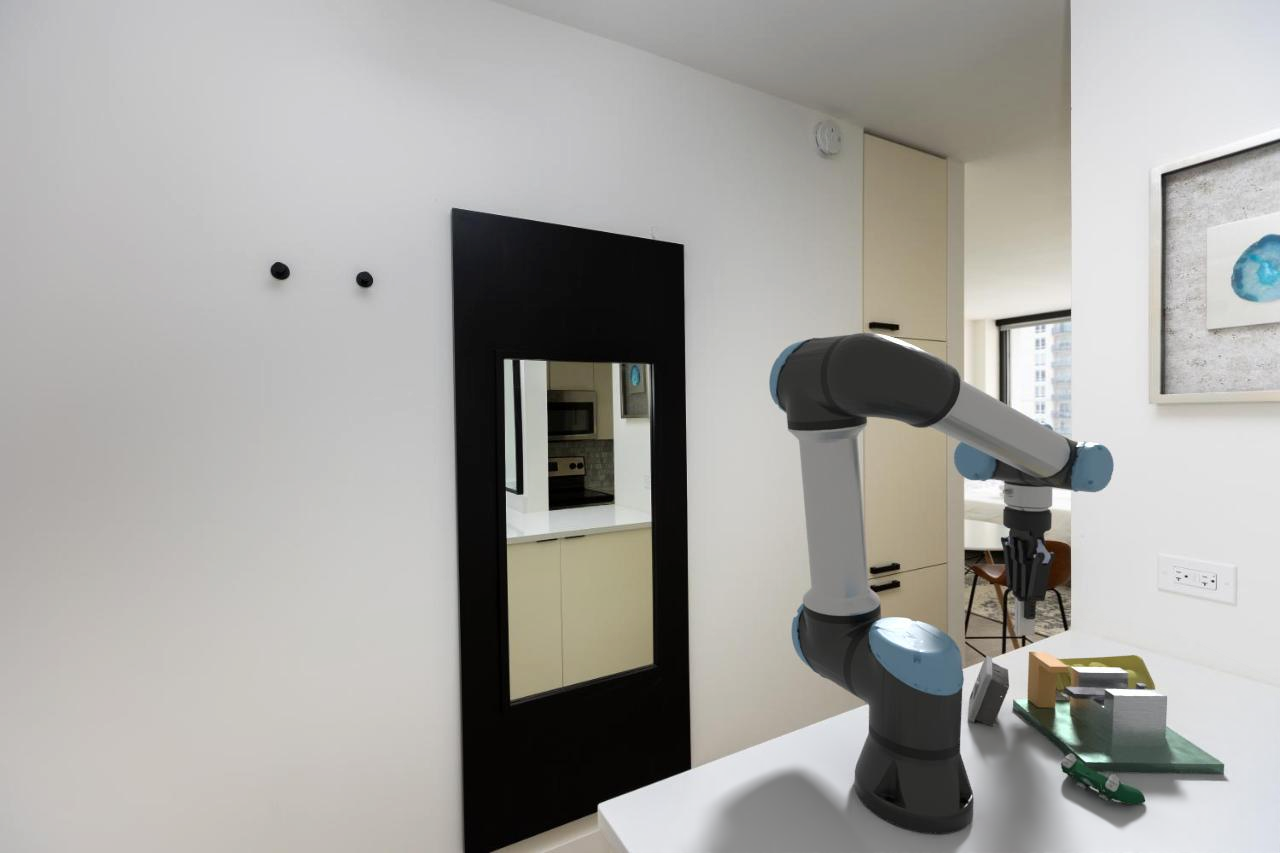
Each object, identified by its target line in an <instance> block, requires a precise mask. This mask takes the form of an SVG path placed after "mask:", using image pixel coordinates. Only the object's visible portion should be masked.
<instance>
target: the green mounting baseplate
mask: <svg viewBox="0 0 1280 853" xmlns="http://www.w3.org/2000/svg"><path fill="white" fill-rule="evenodd" d="M1071 687H1097V688H1128V672H1126V671H1124V670H1123V669H1121V668H1119V667H1071ZM1143 688H1146V689H1147V685H1145V684H1144V683H1136V689H1143ZM1069 696H1070V695H1069ZM1167 707H1168V695H1166V694H1165V693H1163V692H1162V691H1160V690H1158V689H1155V690H1130V689H1105V697H1104V700H1102V699H1074V698H1073V697H1071V696H1070V697H1069V699H1056V700H1055V708H1043V707H1037V706H1035V705H1034V704H1033V703H1032V702H1030V701H1029V700H1028V699H1017V698H1016V699H1013V700H1012V708H1013V709H1014V710H1015V709H1016V710H1017V711H1018V713H1019V714H1020V716H1022V717H1023V718H1024V719H1025V720H1026V719H1027V722H1028V723H1030V725H1032V726H1033V725H1034V726H1035V727H1036V729H1037V730H1038V731H1039V732H1040V734H1042V735H1043V736H1044V737H1045V738H1047V739H1048V740H1049V741H1050V742H1051V743H1052V744H1054V746H1055V747H1057V748H1058V749H1059V750H1060V751H1061V752H1062V753H1063V754H1065V756H1067V755H1068V754H1070V753H1071V754H1074V756H1075V758H1076V759H1078V760H1080V761H1081V762H1083V764H1084V766H1086V767H1088V768H1090V769H1092V770H1094V771H1096V772H1098V773H1129V774H1131V773H1136V774H1138V773H1139V774H1140V773H1141V774H1147V773H1148V774H1198V775H1199V774H1202V775H1203V774H1205V775H1224V774H1225V763H1223V762H1222V761H1221V760H1219V759H1217V758H1215V757H1214V756H1213V755H1211V754H1209V753H1208V752H1207V751H1205V750H1203V749H1202V748H1200V747H1199V746H1197V745H1196V744H1194V743H1193V742H1191V741H1190V740H1188V739H1187V738H1186V737H1184V736H1183V735H1180V734H1179V733H1178V732H1177V731H1174V730H1173V729H1171V728H1170V727H1169V726H1167V712H1168V711H1167V710H1168V709H1167ZM1016 710H1015V711H1016ZM1017 711H1016V712H1017ZM1034 726H1033V727H1034ZM1035 727H1034V728H1035Z"/></svg>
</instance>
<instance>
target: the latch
mask: <svg viewBox="0 0 1280 853" xmlns="http://www.w3.org/2000/svg"><path fill="white" fill-rule="evenodd" d="M1056 658H1057V657H1054V656H1053V655H1051V654H1050V653H1049V652H1046V651H1028V668H1027V669H1028V671H1027V672H1028V674H1027V699H1026V700H1029V701H1030V702H1032V703H1033V704H1034V705H1035V706H1037V707H1043V708H1055V700H1057V699H1056V697H1057V696H1056V695H1057V694H1056V693H1057V692H1056V691H1057V687H1056V672H1065V673H1068V666H1066V665H1065V664H1063V663H1062V662H1060V661H1059V660H1057V659H1056Z"/></svg>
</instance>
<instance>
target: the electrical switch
mask: <svg viewBox="0 0 1280 853" xmlns="http://www.w3.org/2000/svg"><path fill="white" fill-rule="evenodd" d="M1009 680H1010V679H1009V668H1006V667H1003V666H1000V665H999V664H997V663H995V662H993V657H992V656H989V655H986V656H985V658H984V660H983V662H982V665H981V668H980V670H979V672H978V675H977V677H976V679H975V682H974V684H973V687H972V691H971V693H970V696H969V699H968V700H969V701H968V716H967V720H968V721H969V722H970V723H972V724H974V723H975V721H976V720H977V721H979V722H981V723H984V724H986V725H988V726H991V727H994V725H995V723H996V721H997V718H998V717H999V716H998V715H999V714H1000V710H1001V709H1002V706H1003V703H1004V701H1005V699H1006V696H1007V694H1008V691H1009V688H1010V682H1009Z"/></svg>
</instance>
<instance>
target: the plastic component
mask: <svg viewBox="0 0 1280 853" xmlns="http://www.w3.org/2000/svg"><path fill="white" fill-rule="evenodd" d="M1055 658H1056V659H1057V660H1059V661H1060V662H1062V663H1063V664H1065V665H1066V666H1068V673H1065V672H1056V691H1064V687H1071V667H1119V668H1121V669H1123V670H1124V671H1126V672H1128V688H1130V689H1136V683H1144V684H1145V685H1147V689H1148V690H1156V686H1155V682H1154V680H1153V678H1152V676H1151V674H1150V672H1149V670H1148V668H1147V666H1146V664H1145V662H1144V659H1143V658H1142V657H1141V656H1139V655H1138V654H1131V655H1128V654H1127V655H1116V656H1115V655H1114V656H1113V655H1112V656H1101V657H1099V656H1098V657H1079V658H1078V657H1075V658H1073V657H1072V658H1070V657H1069V658H1058V657H1055Z"/></svg>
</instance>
